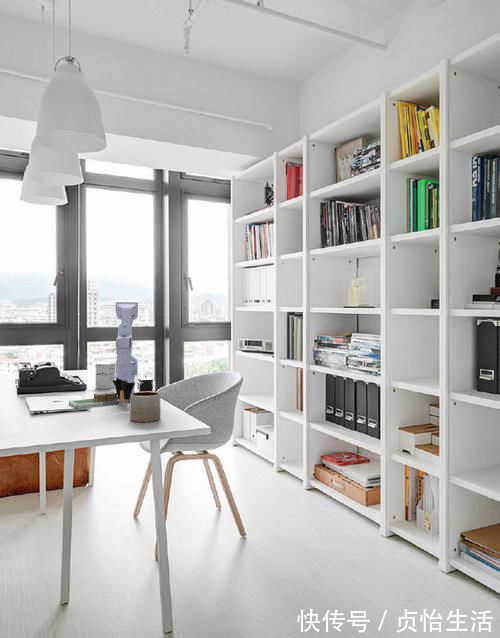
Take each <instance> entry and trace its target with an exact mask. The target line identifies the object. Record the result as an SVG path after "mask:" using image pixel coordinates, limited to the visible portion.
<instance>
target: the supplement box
mask: <svg viewBox="0 0 500 638" xmlns="http://www.w3.org/2000/svg"><path fill="white" fill-rule="evenodd" d="M115 367H116V362H104V361H103V362H97V363H95V388H94V389H102V390H103V389H104V390H110V389H114V388H115V385H114V383H113V380H116V379H115V378H114V376H115Z"/></svg>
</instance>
